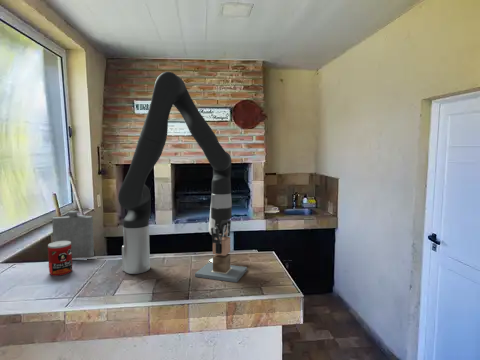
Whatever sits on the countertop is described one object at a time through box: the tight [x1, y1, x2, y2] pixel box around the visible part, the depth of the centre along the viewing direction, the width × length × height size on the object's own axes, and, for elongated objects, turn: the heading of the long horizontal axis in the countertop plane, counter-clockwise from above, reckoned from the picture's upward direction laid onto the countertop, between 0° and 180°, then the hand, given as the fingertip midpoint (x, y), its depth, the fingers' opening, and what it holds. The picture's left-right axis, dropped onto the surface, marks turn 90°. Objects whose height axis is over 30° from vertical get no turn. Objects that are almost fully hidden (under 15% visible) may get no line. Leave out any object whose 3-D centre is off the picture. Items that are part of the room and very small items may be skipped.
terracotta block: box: [212, 236, 231, 256], centre depth 117 cm, size 5×5×6 cm
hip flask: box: [51, 210, 95, 259], centre depth 135 cm, size 16×4×20 cm, turn 98°
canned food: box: [47, 241, 73, 277], centre depth 119 cm, size 8×8×11 cm
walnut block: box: [212, 253, 231, 273], centre depth 117 cm, size 5×5×6 cm
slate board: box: [194, 262, 248, 283], centre depth 118 cm, size 16×12×1 cm
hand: (221, 250), depth 117 cm, fingers closed on terracotta block, 4 cm apart
